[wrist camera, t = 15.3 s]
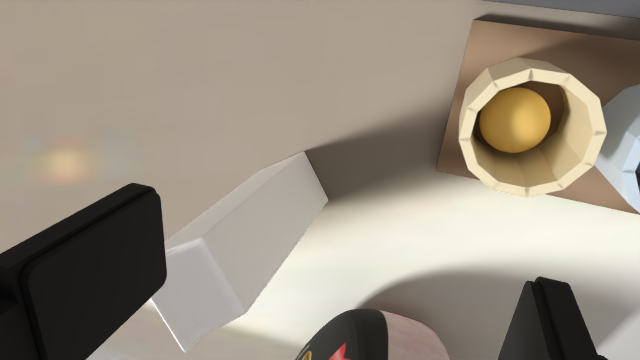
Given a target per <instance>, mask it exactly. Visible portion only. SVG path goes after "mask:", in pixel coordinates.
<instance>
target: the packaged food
mask: <svg viewBox="0 0 640 360" xmlns="http://www.w3.org/2000/svg"><path fill="white" fill-rule="evenodd" d="M295 360H450V357H449V355H448V352H447V350H446V348H445V346H444V345H443V343H442V341H441V340H440V338H439V337H438V336H437V334H436V333H435V332H434V331H433V330H431V329H430V328H429V327H428V326H426V325H424V324H422V323H420V322H418V321H415V320H413V319H410V318H407V317H403V316H400V315H397V314H393V313H389V312H385V311H382V310H375V309H355V310H349V311H346V312H344V313H342V314H340V315H338V316H336V317H335V318H333V319H332V320H331V321H329V322H328V323H327V324H326V325H325V326H323V327H322V328H321V329H320V330H319V331H318V332H317V333H316V334H315V335H314V336H313V337H312V339H311V340H310V341H309V342H308V343H307V344H306V345H305V347H304V348H303V349H302V351H301V352H300V353H299V355H298V356H297V358H296V359H295Z"/></svg>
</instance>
